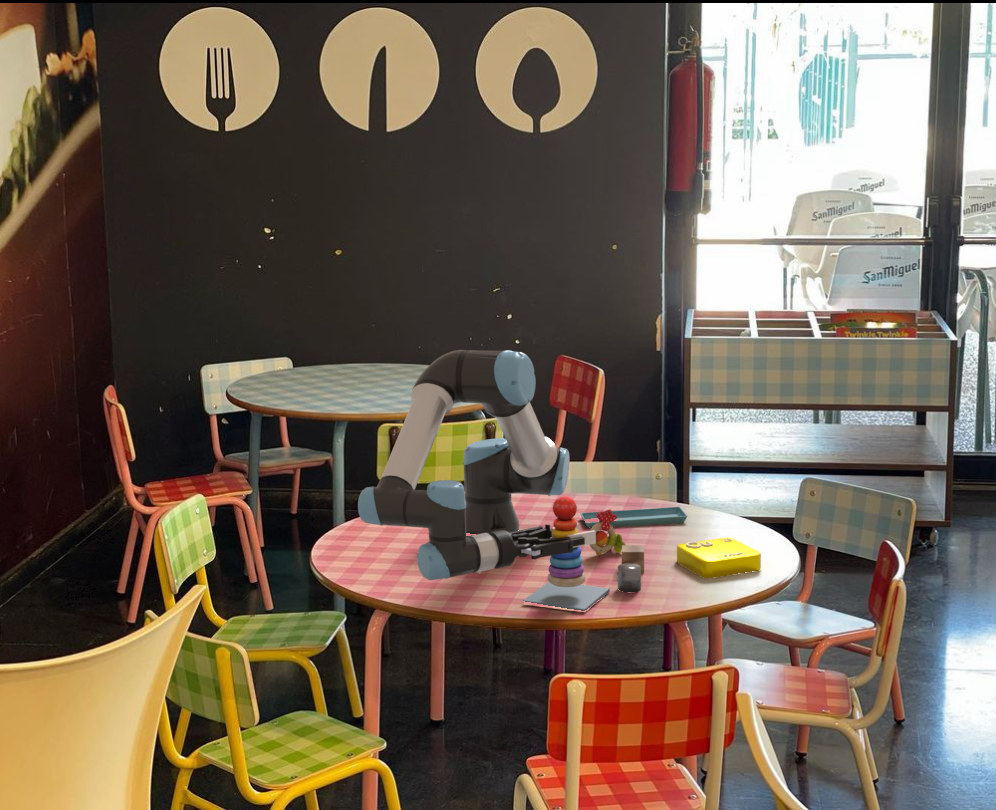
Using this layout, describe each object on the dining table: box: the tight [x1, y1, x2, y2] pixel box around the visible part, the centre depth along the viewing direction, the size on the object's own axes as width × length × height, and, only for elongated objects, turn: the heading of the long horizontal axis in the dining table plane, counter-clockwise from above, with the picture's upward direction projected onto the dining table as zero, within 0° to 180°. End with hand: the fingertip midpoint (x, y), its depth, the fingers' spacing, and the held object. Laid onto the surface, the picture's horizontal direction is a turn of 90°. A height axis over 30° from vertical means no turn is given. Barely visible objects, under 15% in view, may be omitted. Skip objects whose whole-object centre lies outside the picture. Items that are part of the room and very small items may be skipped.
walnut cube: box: [621, 544, 645, 574], centre depth 302 cm, size 5×5×5 cm
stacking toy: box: [547, 495, 586, 587], centre depth 281 cm, size 8×8×19 cm
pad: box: [522, 581, 611, 611], centre depth 284 cm, size 14×14×1 cm
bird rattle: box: [589, 509, 627, 556], centre depth 314 cm, size 6×11×9 cm
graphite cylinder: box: [617, 563, 642, 593], centre depth 289 cm, size 5×5×5 cm
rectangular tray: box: [580, 506, 688, 528], centre depth 341 cm, size 26×9×2 cm, turn 95°
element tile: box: [676, 536, 762, 579], centre depth 303 cm, size 15×15×5 cm
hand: (586, 533), depth 284 cm, fingers closed on stacking toy, 6 cm apart
